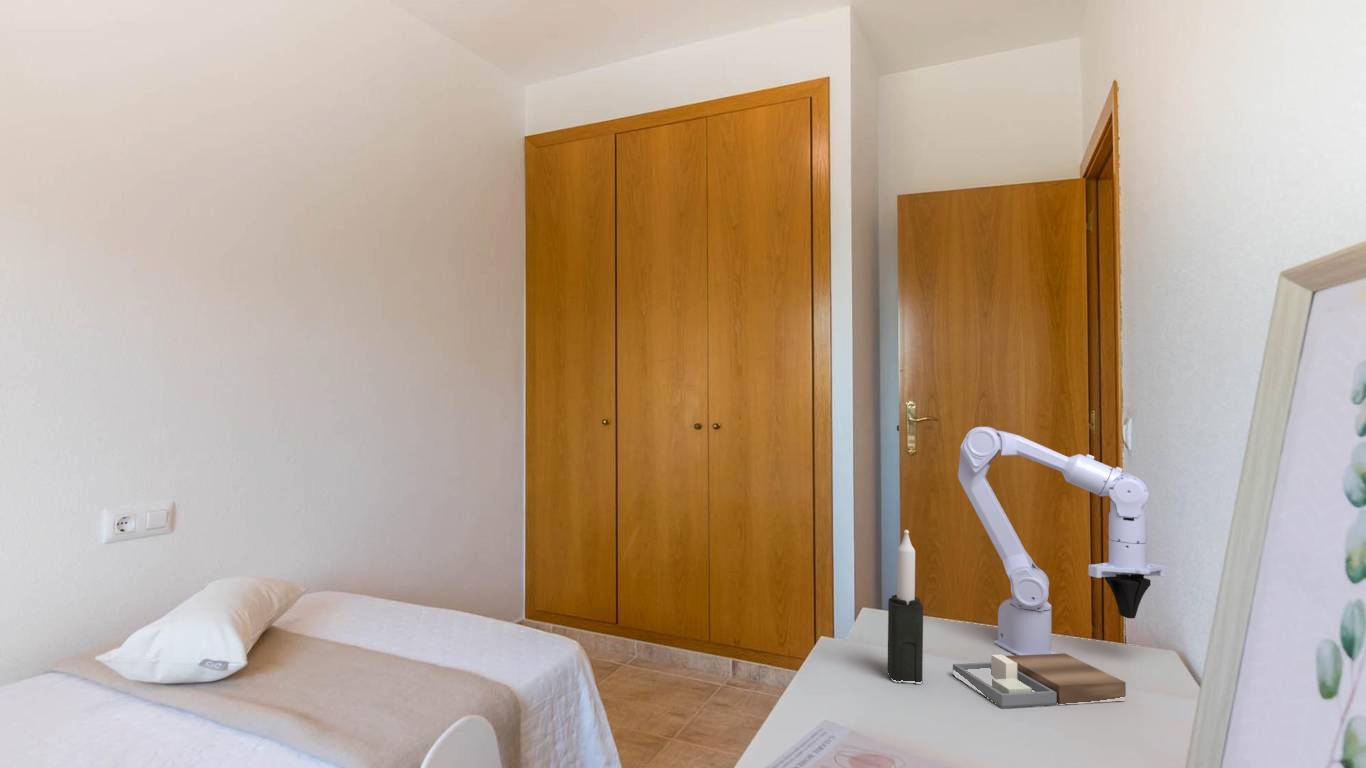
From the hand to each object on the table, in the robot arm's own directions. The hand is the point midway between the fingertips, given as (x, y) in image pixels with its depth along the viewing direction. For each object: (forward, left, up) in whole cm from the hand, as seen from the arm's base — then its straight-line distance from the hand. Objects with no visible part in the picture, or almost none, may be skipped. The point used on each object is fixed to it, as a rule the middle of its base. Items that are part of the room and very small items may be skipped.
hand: (1127, 616), depth 121 cm
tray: (+6, -29, -9) cm, 31 cm away
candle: (-1, -43, -10) cm, 44 cm away
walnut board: (+6, -18, -9) cm, 21 cm away
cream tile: (+4, -27, -7) cm, 28 cm away
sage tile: (+9, -30, -7) cm, 32 cm away
